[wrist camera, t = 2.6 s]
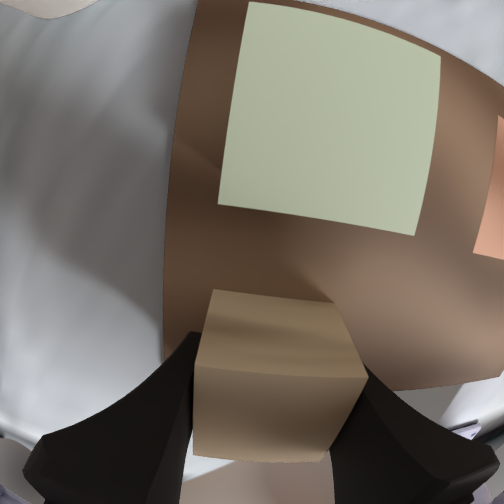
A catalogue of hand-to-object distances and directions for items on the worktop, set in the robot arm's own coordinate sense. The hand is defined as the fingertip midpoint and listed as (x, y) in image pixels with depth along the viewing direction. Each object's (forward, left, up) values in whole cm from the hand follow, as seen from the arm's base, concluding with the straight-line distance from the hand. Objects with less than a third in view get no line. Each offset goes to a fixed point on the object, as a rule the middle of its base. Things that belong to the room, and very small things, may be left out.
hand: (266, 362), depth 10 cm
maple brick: (0, 0, -1) cm, 1 cm away
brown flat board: (+5, -6, -2) cm, 8 cm away
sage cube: (+8, 0, -1) cm, 8 cm away
